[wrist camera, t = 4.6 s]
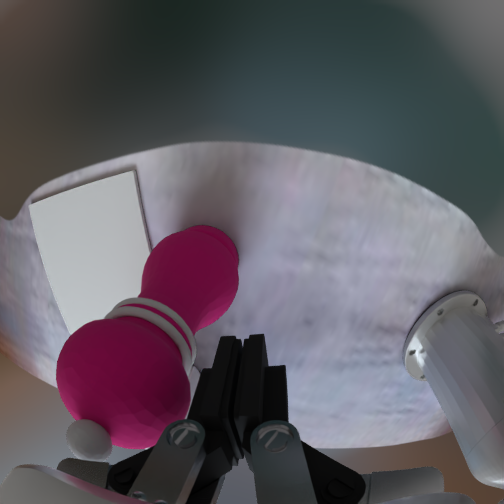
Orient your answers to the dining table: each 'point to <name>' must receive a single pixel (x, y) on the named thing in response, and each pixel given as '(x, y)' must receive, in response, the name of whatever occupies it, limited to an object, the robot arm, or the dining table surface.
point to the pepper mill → (146, 346)
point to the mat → (93, 246)
